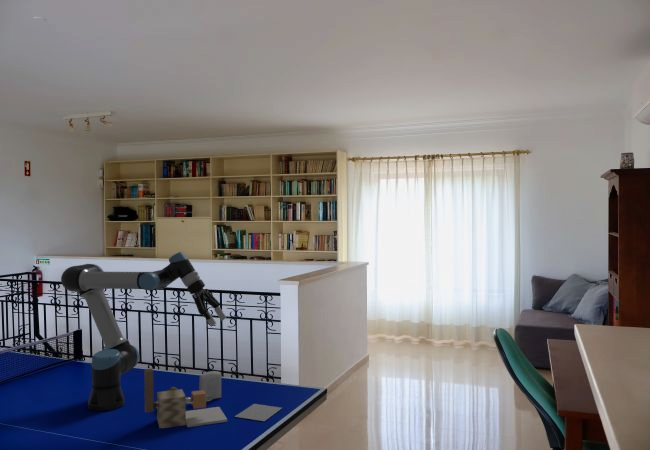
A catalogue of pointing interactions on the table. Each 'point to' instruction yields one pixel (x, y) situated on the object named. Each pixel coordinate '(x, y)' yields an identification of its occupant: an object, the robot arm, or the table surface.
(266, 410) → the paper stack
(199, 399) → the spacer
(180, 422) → the bearing block
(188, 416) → the mat
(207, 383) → the photo printer
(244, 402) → the table surface
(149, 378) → the handled brown block
